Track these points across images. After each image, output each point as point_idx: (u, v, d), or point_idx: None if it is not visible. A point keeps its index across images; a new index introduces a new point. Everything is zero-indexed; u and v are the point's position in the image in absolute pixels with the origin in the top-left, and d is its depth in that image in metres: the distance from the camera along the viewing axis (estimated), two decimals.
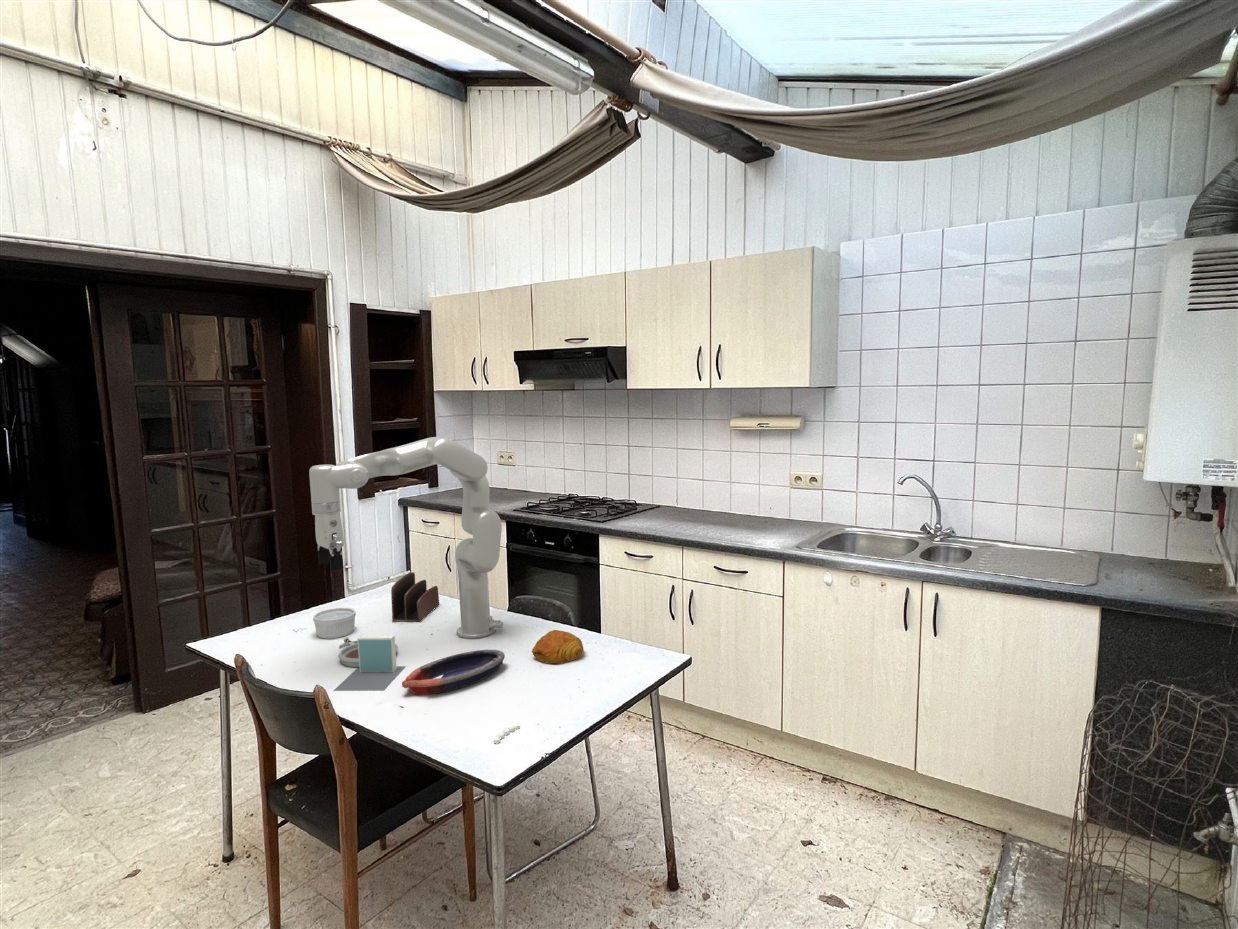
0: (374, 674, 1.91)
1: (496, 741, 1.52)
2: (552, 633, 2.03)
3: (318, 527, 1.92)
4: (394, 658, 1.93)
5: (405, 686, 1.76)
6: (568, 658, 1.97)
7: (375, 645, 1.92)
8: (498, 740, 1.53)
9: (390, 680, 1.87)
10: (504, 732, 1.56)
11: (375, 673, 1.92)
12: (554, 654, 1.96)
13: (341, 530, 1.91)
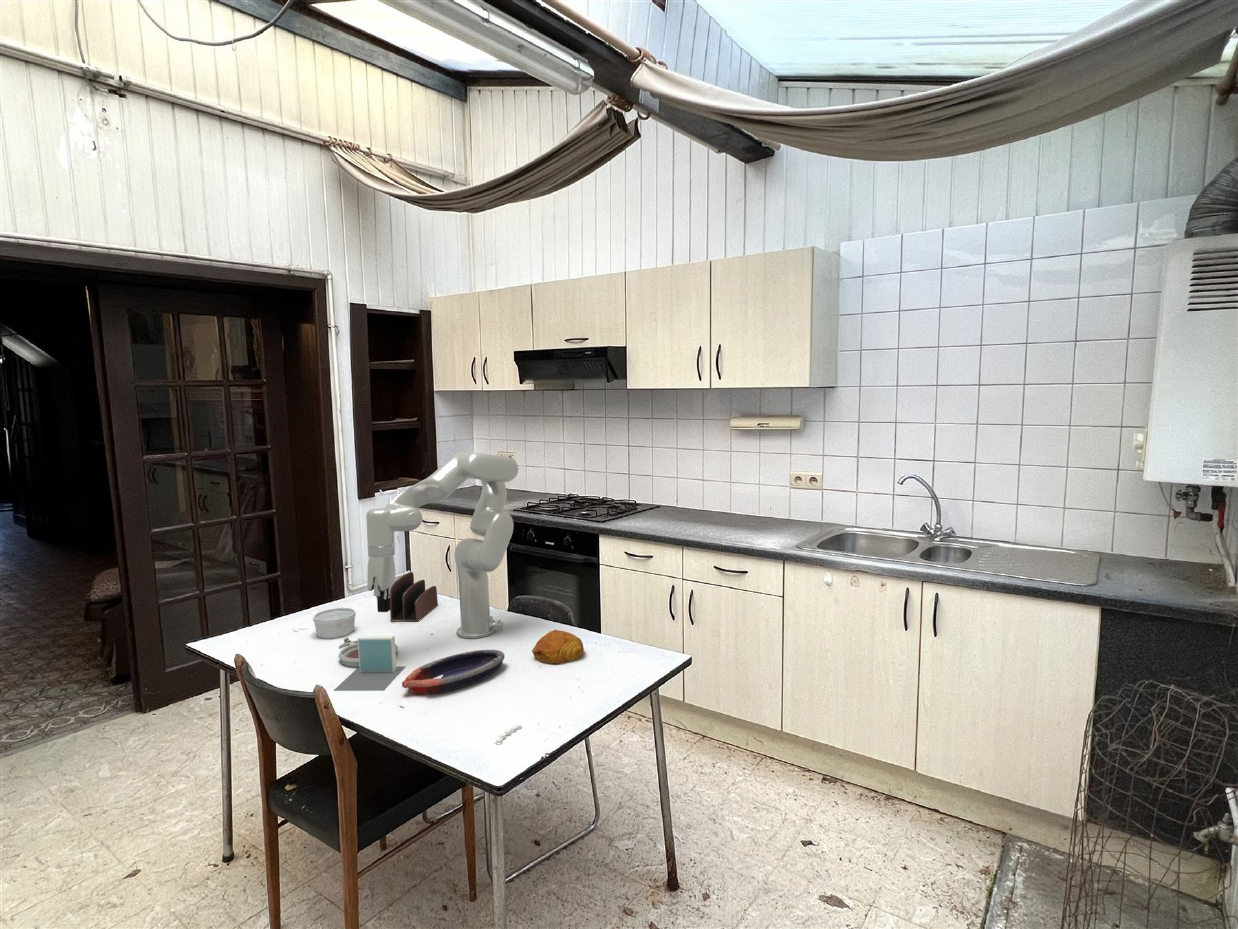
0: (374, 674, 1.91)
1: (498, 742, 1.52)
2: (552, 633, 2.03)
3: (390, 568, 1.98)
4: (394, 658, 1.93)
5: (405, 686, 1.76)
6: (568, 658, 1.97)
7: (375, 645, 1.92)
8: (500, 740, 1.53)
9: (390, 680, 1.87)
10: (506, 732, 1.56)
11: (375, 673, 1.92)
12: (554, 654, 1.96)
13: None
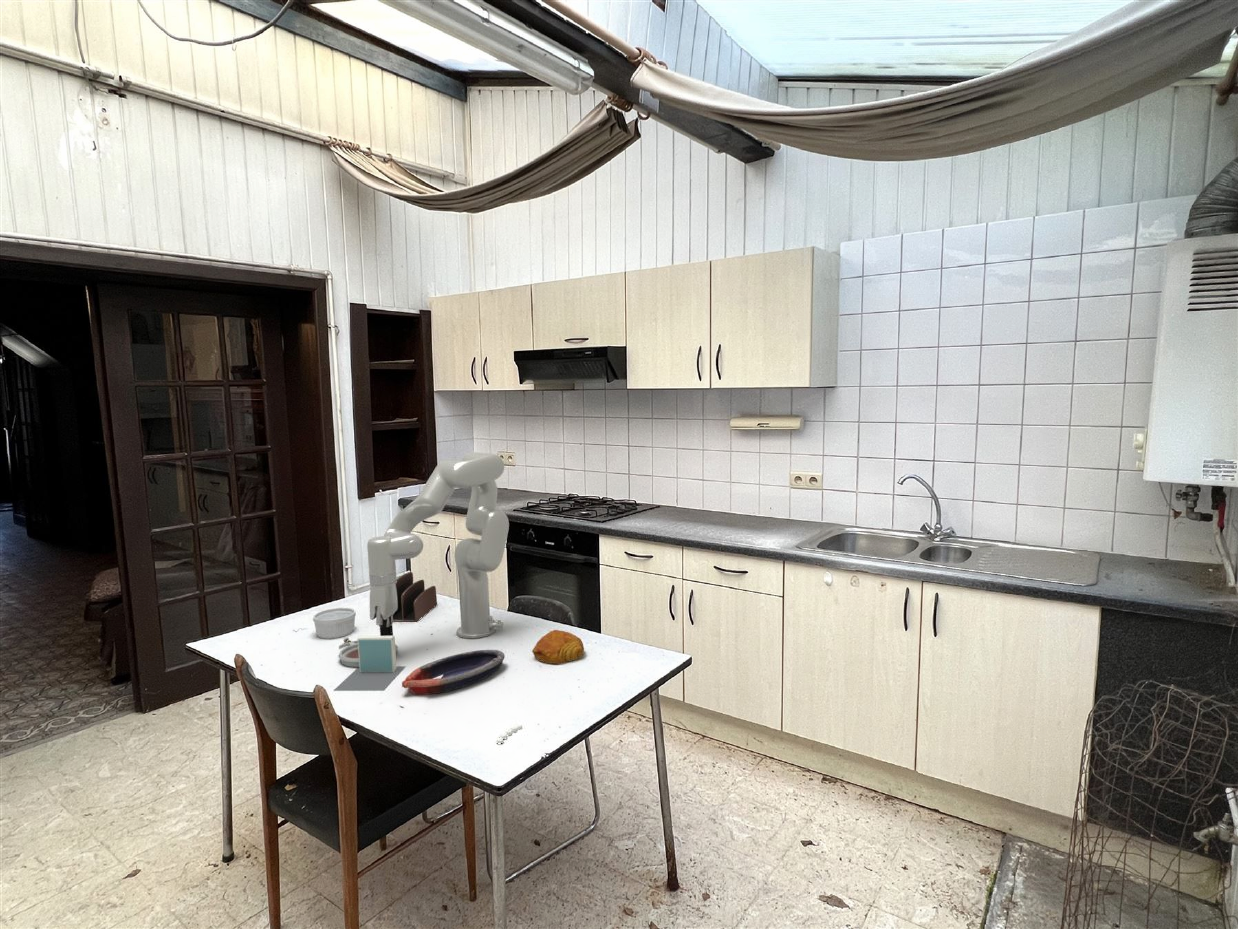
0: (374, 674, 1.91)
1: (500, 742, 1.52)
2: (553, 633, 2.03)
3: (392, 596, 1.99)
4: (394, 658, 1.93)
5: (405, 686, 1.76)
6: (568, 658, 1.97)
7: (375, 645, 1.92)
8: (501, 741, 1.52)
9: (390, 680, 1.87)
10: (507, 732, 1.56)
11: (375, 673, 1.92)
12: (554, 654, 1.96)
13: None
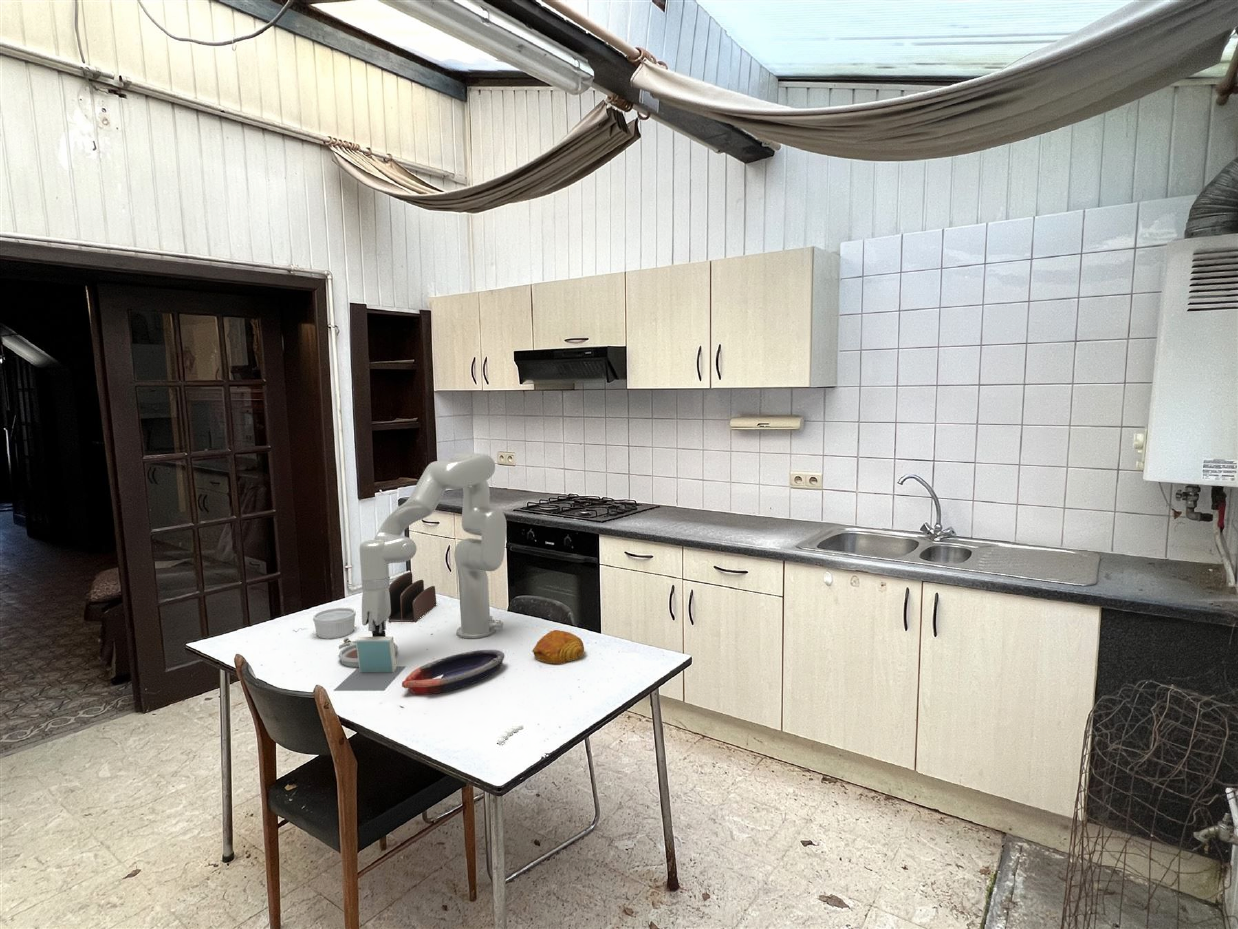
0: (374, 674, 1.91)
1: (501, 742, 1.52)
2: (553, 633, 2.03)
3: (385, 601, 1.94)
4: (394, 658, 1.93)
5: (405, 686, 1.76)
6: (569, 658, 1.97)
7: (374, 646, 1.91)
8: (502, 741, 1.52)
9: (390, 680, 1.87)
10: (508, 733, 1.56)
11: (375, 673, 1.92)
12: (554, 654, 1.96)
13: None
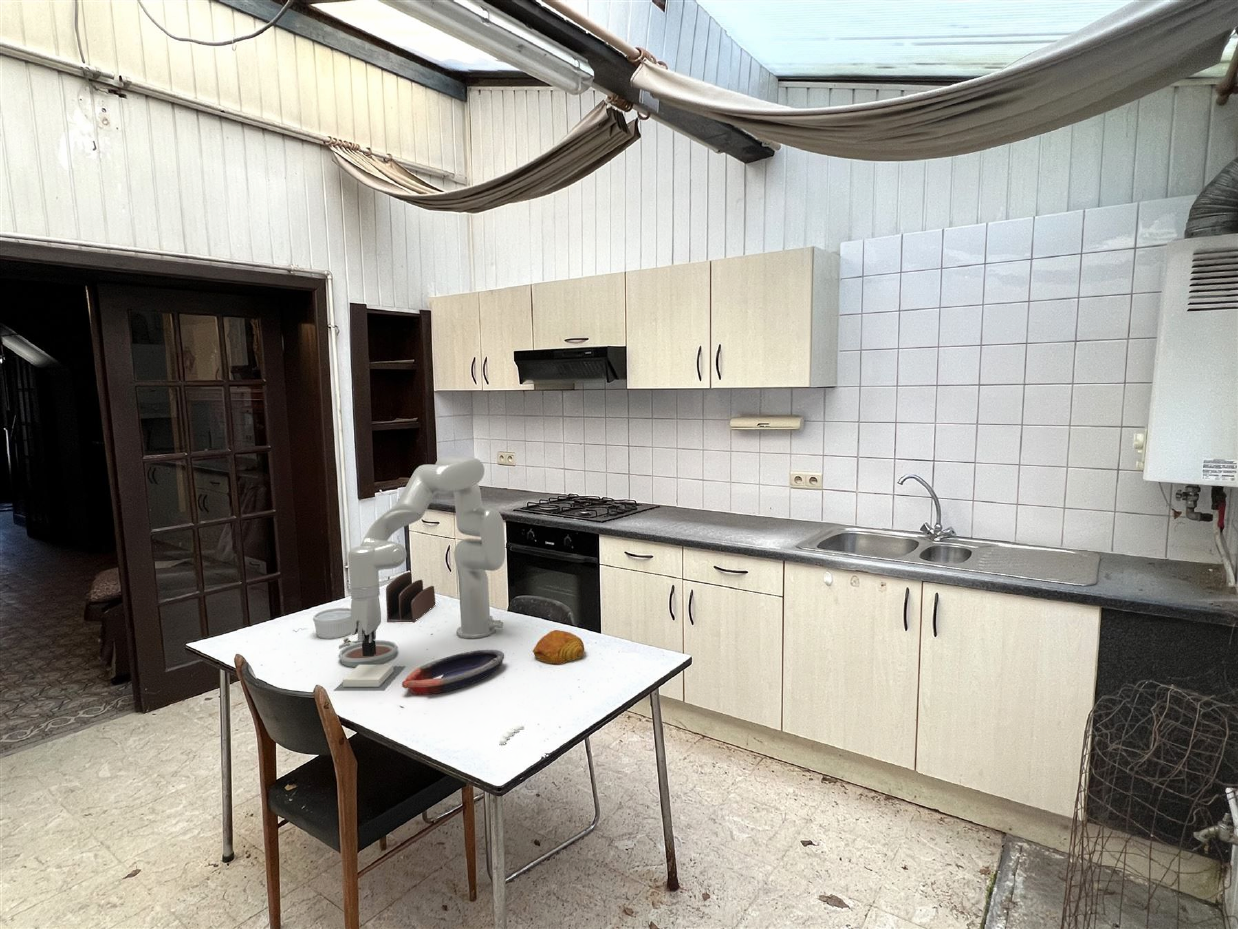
0: None
1: (503, 743, 1.52)
2: (553, 633, 2.03)
3: (374, 610, 1.87)
4: (388, 673, 1.89)
5: (405, 686, 1.76)
6: (569, 658, 1.97)
7: None
8: (504, 741, 1.52)
9: (390, 680, 1.87)
10: (509, 733, 1.56)
11: None
12: (555, 654, 1.96)
13: None
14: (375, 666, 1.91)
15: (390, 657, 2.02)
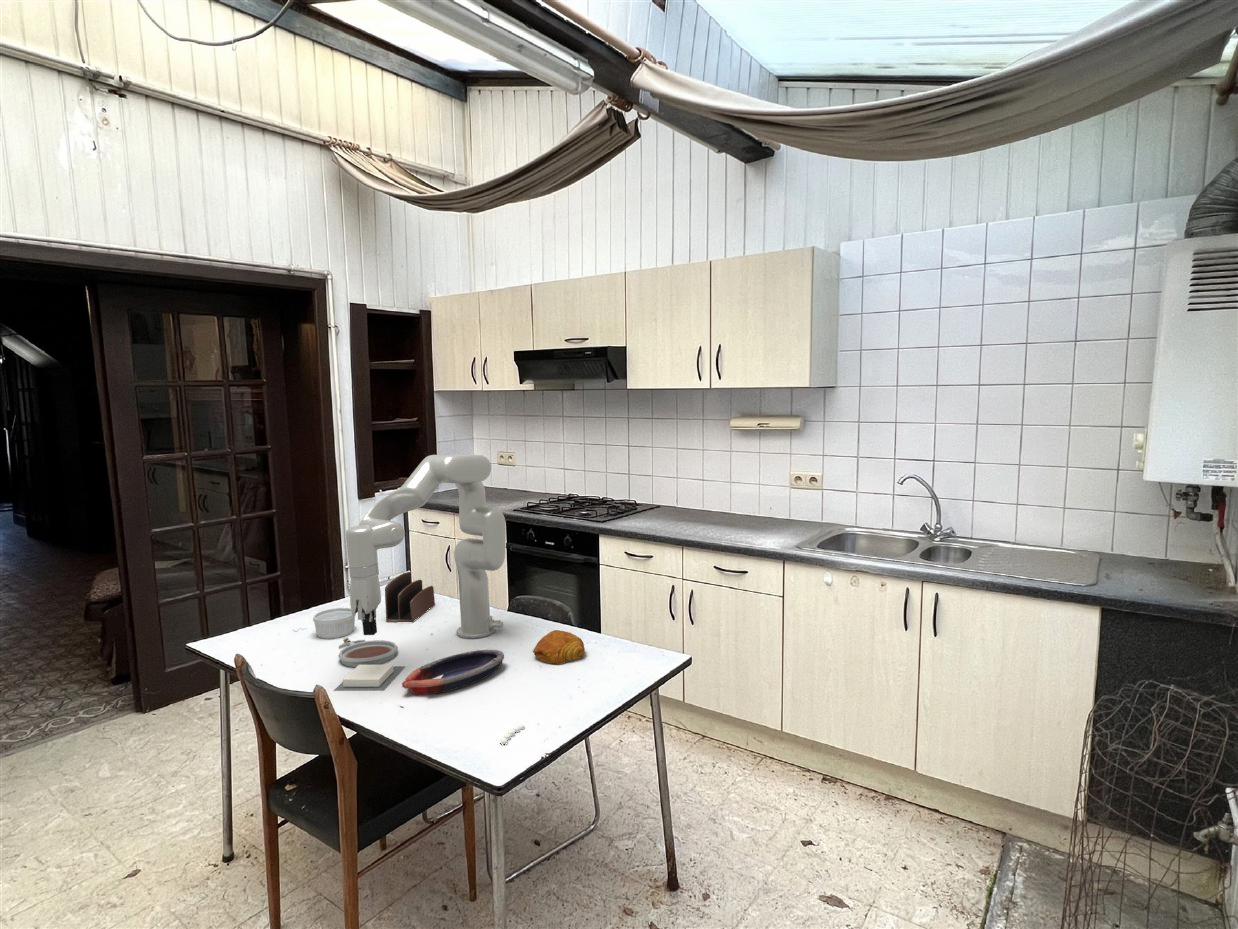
0: None
1: (504, 743, 1.52)
2: (553, 633, 2.03)
3: (374, 589, 1.86)
4: (388, 673, 1.89)
5: (405, 686, 1.76)
6: (569, 658, 1.97)
7: None
8: (505, 741, 1.52)
9: (390, 680, 1.87)
10: (510, 733, 1.56)
11: None
12: (555, 654, 1.96)
13: None
14: (375, 666, 1.91)
15: (390, 657, 2.02)
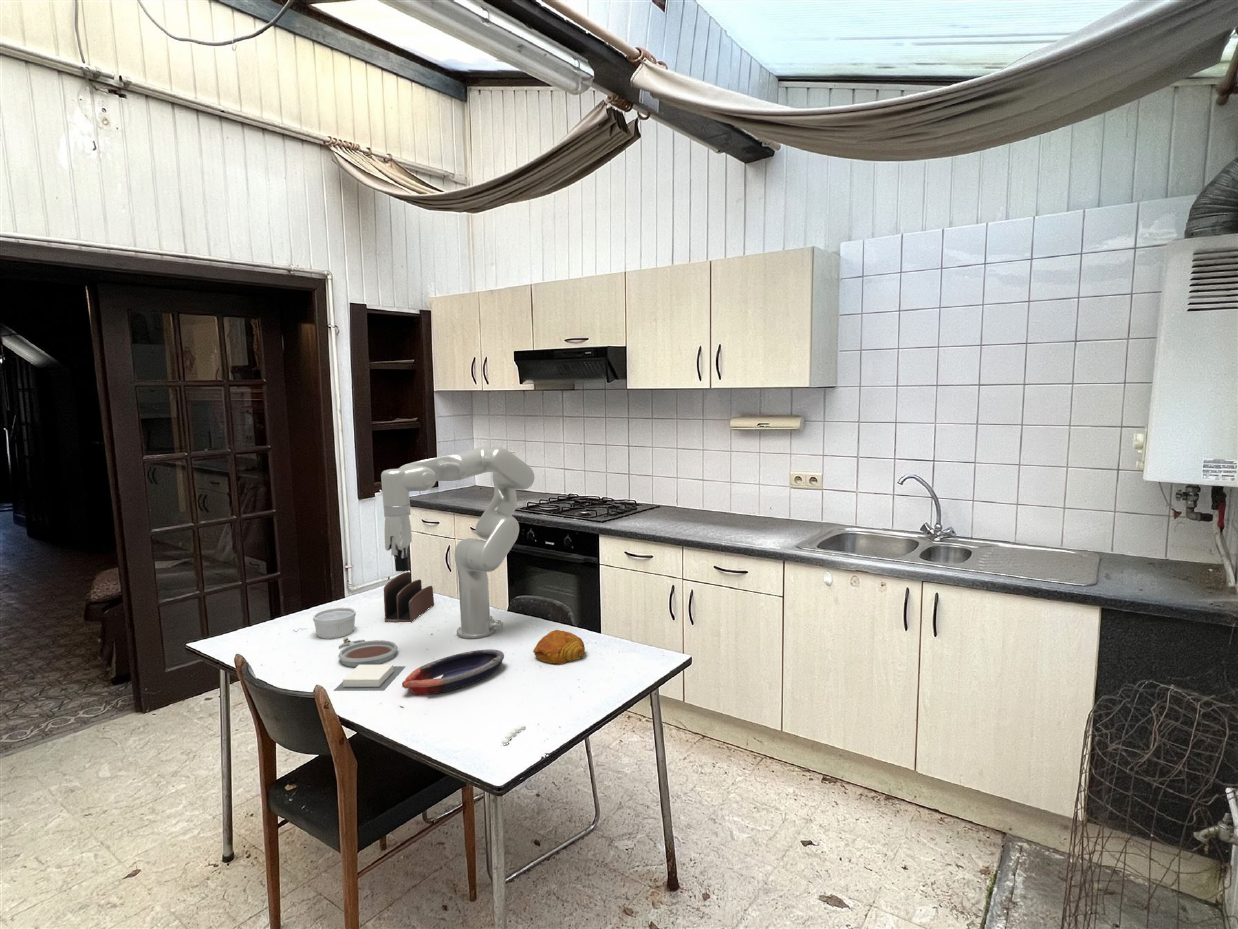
0: None
1: (505, 743, 1.52)
2: (554, 633, 2.03)
3: (406, 528, 2.01)
4: (388, 673, 1.89)
5: (405, 686, 1.76)
6: (569, 658, 1.97)
7: None
8: (507, 741, 1.52)
9: (390, 680, 1.87)
10: (511, 733, 1.55)
11: None
12: (555, 654, 1.96)
13: None
14: (375, 666, 1.91)
15: (390, 657, 2.02)
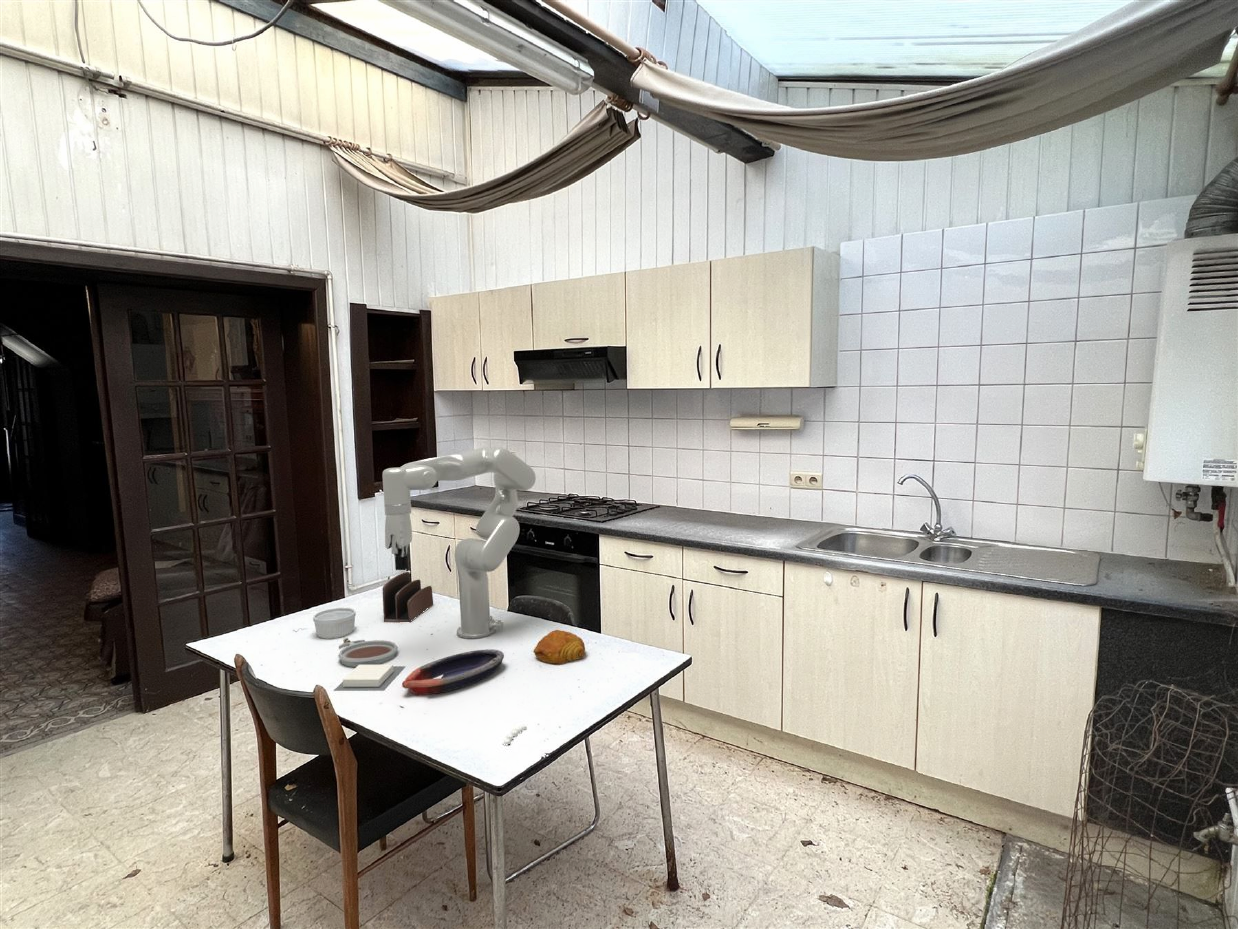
0: None
1: (507, 743, 1.52)
2: (554, 633, 2.03)
3: (407, 526, 2.01)
4: (388, 673, 1.89)
5: (405, 686, 1.76)
6: (570, 658, 1.97)
7: None
8: (509, 742, 1.52)
9: (390, 680, 1.87)
10: (512, 733, 1.55)
11: None
12: (555, 654, 1.96)
13: None
14: (375, 666, 1.91)
15: (390, 657, 2.02)
